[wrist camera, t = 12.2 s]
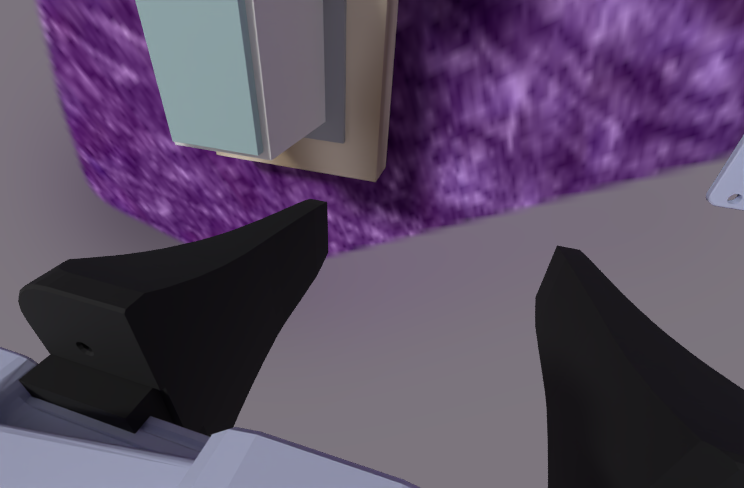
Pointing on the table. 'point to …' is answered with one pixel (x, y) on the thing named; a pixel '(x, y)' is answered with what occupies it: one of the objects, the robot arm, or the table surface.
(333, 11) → the stand
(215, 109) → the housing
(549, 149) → the table surface
